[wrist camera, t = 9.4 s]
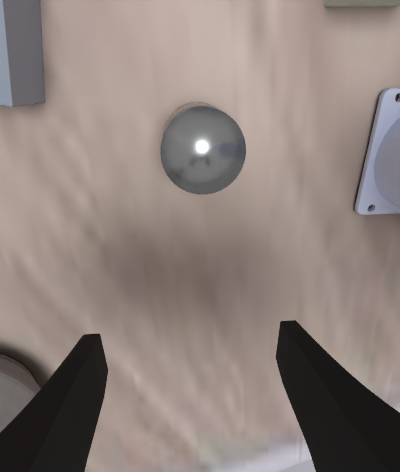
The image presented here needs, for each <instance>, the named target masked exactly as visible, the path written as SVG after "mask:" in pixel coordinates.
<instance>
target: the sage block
mask: <svg viewBox="0 0 400 472" xmlns="http://www.w3.org/2000/svg"><path fill="white" fill-rule="evenodd" d="M398 5H400V0H326V1H325V7H346V6H398Z"/></svg>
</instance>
